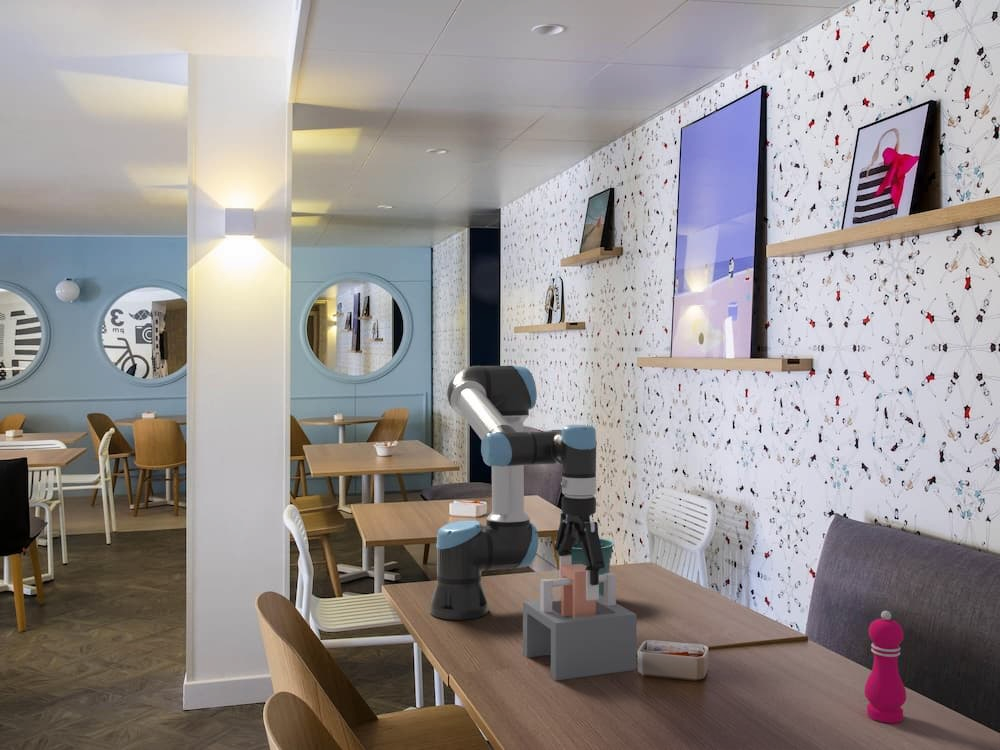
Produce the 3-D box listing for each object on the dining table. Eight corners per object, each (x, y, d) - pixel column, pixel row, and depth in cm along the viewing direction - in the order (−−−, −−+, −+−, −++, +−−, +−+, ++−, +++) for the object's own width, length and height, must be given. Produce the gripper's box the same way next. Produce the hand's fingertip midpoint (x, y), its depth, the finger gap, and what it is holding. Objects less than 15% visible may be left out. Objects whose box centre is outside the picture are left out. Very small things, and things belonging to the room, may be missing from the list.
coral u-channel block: (561, 614, 204) (561, 565, 204) (581, 612, 206) (581, 563, 206) (575, 622, 198) (574, 572, 197) (595, 620, 199) (595, 570, 199)
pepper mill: (857, 710, 175) (858, 606, 174) (893, 708, 175) (894, 605, 175) (875, 725, 168) (877, 616, 167) (913, 724, 168) (915, 616, 168)
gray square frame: (522, 654, 207) (523, 571, 207) (598, 644, 214) (598, 564, 213) (555, 680, 190) (555, 590, 190) (636, 669, 197) (636, 582, 197)
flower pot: (544, 596, 256) (544, 539, 256) (594, 590, 263) (594, 534, 263) (573, 611, 242) (573, 550, 241) (625, 604, 248) (626, 545, 248)
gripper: (540, 488, 212) (540, 579, 212) (588, 505, 188) (588, 607, 189) (570, 487, 214) (569, 577, 215) (621, 503, 191) (620, 604, 191)
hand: (578, 591), depth 202 cm, fingers open, 13 cm apart
